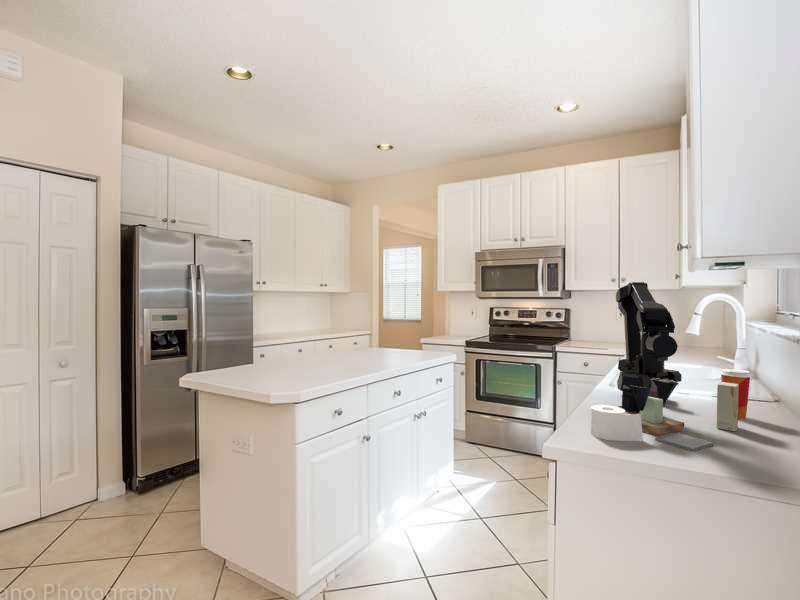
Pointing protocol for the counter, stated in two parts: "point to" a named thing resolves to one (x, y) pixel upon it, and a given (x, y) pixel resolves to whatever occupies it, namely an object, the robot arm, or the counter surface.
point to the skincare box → (727, 406)
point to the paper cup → (743, 381)
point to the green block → (653, 411)
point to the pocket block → (662, 427)
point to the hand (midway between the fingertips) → (651, 408)
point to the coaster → (684, 441)
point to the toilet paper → (615, 424)
